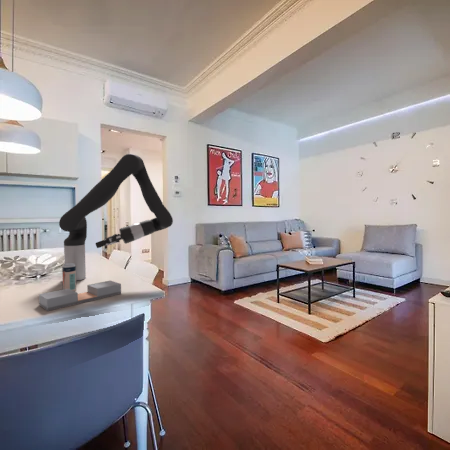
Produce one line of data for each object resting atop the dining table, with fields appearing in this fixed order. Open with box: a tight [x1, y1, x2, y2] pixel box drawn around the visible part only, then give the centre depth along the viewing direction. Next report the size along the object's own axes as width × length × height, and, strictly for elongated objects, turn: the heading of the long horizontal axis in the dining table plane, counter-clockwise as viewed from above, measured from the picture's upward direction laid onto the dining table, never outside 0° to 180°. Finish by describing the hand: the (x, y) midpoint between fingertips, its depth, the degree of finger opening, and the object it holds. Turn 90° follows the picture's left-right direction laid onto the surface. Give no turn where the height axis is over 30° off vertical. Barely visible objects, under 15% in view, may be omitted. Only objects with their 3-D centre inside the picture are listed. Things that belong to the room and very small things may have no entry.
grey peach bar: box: [38, 280, 122, 312], centre depth 102 cm, size 9×26×4 cm, turn 139°
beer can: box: [61, 263, 77, 292], centre depth 111 cm, size 5×5×12 cm
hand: (96, 245), depth 119 cm, fingers open, 8 cm apart
